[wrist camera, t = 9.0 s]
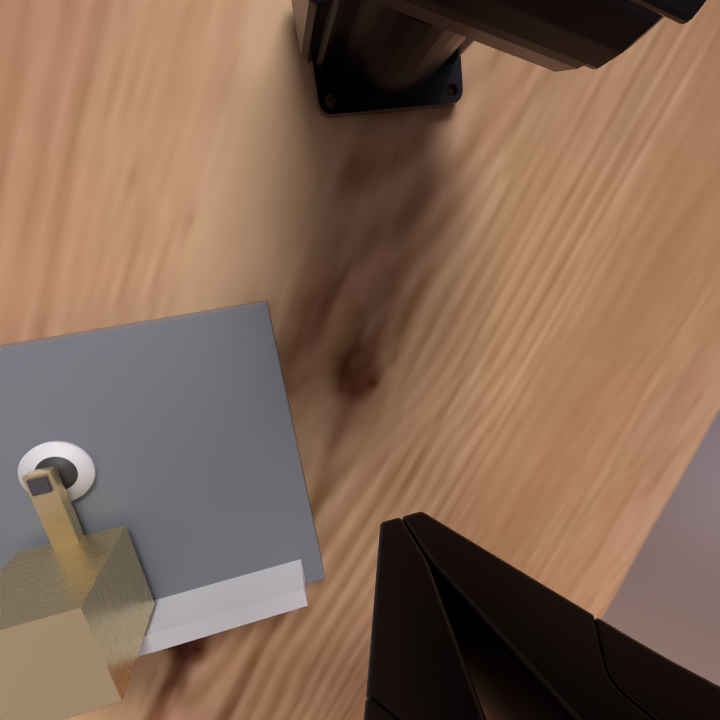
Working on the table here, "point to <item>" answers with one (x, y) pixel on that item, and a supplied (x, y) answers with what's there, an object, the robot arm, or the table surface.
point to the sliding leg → (69, 613)
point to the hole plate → (168, 461)
